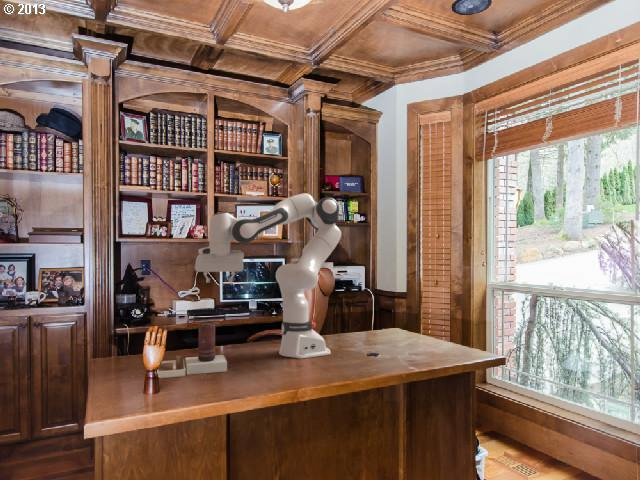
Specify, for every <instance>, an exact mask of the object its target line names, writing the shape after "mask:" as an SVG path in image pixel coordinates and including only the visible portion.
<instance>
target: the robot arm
mask: <svg viewBox="0 0 640 480" xmlns="http://www.w3.org/2000/svg"><path fill="white" fill-rule="evenodd" d="M339 214H340V206H339V203H338V201H337V200H336V199H335V198H333V197H329V196H327V197H322V198H321V199H320V200H318V201H315V200H314V197H313V196H312V195H311V194H310V193H306V192H305V193H304V192H303V193H299V194H294V195H292V196H290V197H287V198H285V199H283V200H281V201H279V202H277V203H276V204H274V206H273V208H272V210H270V211H269V212H267V213H265V214H263V215H260V216H258V217H256V218H252V219H251V218H250V219H247V218H244V219H243V218H242V219H239V218H237V217H235V216H233V215H232V214H230V213H229V212H226V211H225V212H218V213H214V214H212V216H211V217H210V220H209V229H208V230H209V238H210V239H209V242H208V243H209V244H208V245H209V246H205V247H201V248H199V249H198V255H197V256H196V259H195V265H194V270H195V271H196V273H203V276H204V277H205V279H206V281H205V282H206V284H207V283H208V284H209V283H211V278H210V277H208V276H207V275H208V273H214V272H215V273H218V272H221V273H222V272H230V273H231V276H230V277H228V283H233V281H234V280H233V278H234V277H235V275H236V272H243V270H244V261H243V260H244V259H245V258H244V257H245V253H244V252H243V251H241V249H238V250H235V249H233V250H232V249H231V242H232V241H234V242H236V243H240V244H251V243H252V242H253V241H254V240H255V239H256V238H257V237H258V236H259V235H260V234H261V233H264V232H265V231H267V230H270V229H272V228H274V227H276V226H279V225H280V226H281V225H287V224H292V223H294V222H297V221H299V220H301V219H303V218H305V220H306V221H307V222H308V223H309V224H310V226H311V227H312V228H313V229H314V230H316V231H317V232H316V233H315V234H314V235H313V236H312V237H311V239H309V241H308V242H307V244H306V245H305V246H304V247H303V248H302V250H301V251H302V253H301V254H302V255H301V257H300V259H299V261H298V262H297V263H286V264H282V265H280V266H279V267H278V268H277V270H276V272H275V279H276V280H275V281H276V282H277V283H278V286H279V289H280V293H281V298H282V307H283V308H282V309H283V310H282V312H283V313H282V322H281V334H282V335H281V336H282V337H281V344H280V349H279V351H278V354H279V355H280V356H283V357H288V358H295V359H301V360H302V359H308V358H316V357H322V356H328V355H331V354H332V353H331V349H330V348H328V347H327V346H326V341H325V339H324V337H323V336H321V335H320V334H319V333H318V332H317V331H315V330H314V329H315V328H316V326H317V324H316V323H315V322H313V321H310V320H309V307H310V306H309V305H310V304H309V302H308V300H307V298H306V295H305V291H310V290H312V289H315V288H316V287H317V285H318V283H319V273H320V270H321V268H322V267H323V265H324V263H325V262H326V260H327V259H328V258H329V256H331V254H332V252H333V251H334V250H335V249H336V248H337V245H338V244H339V242H340V240H341V237H342V231H341V229H340V228H339V227H338V226H337V225H336V223H337V222H338V221H339ZM313 328H314V329H313Z"/></svg>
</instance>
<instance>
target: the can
mask: <svg viewBox="0 0 640 480" xmlns="http://www.w3.org/2000/svg"><path fill="white" fill-rule="evenodd" d="M197 338H198V346H197V347H198V350H197V351H198V354H197V357H198V359H199V361H201V362H209V361H213V360H214V359H215V355H216V324H215V323H214V322H212V321H205V322H200V323H199V324H198V337H197Z"/></svg>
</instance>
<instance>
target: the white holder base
mask: <svg viewBox="0 0 640 480" xmlns="http://www.w3.org/2000/svg"><path fill="white" fill-rule="evenodd" d="M184 359H185V360H184V364H185V369H186V373H185V375H187V376H188V375H199V374H211V373H213V374H214V373H222V372H223V373H224V372H228V361H227V359H226V357H225V355H224V354H215V359H214V360H213V361H209V362H201V361H199V359H198V356H192V357H191V356H190V357H188V356H187V357H185V358H184Z"/></svg>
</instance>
